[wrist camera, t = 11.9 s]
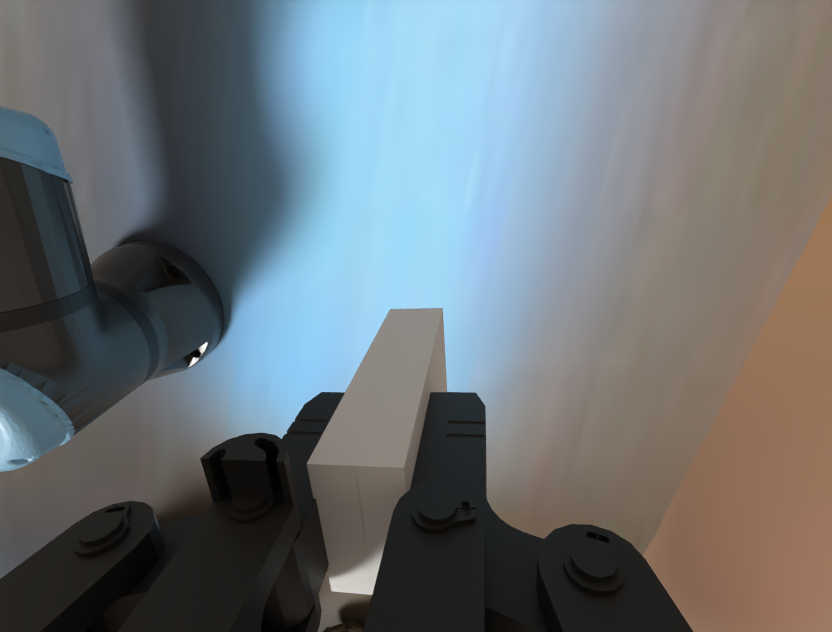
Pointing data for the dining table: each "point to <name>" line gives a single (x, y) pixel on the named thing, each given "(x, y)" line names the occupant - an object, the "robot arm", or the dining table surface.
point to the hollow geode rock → (346, 627)
